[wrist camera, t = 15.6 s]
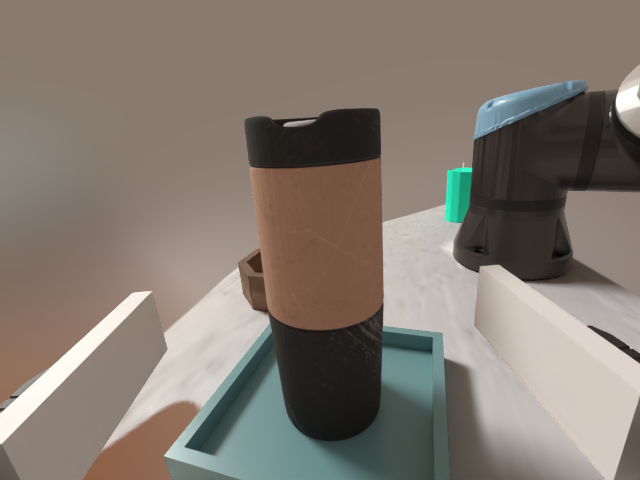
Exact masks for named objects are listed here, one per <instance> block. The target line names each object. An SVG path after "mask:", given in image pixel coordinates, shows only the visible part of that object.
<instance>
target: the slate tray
mask: <svg viewBox="0 0 640 480" xmlns="http://www.w3.org/2000/svg"><path fill="white" fill-rule="evenodd" d="M164 458H165V461H166V464H167V468H168V471H169V474H170V477H171V480H450V463H449V445H448V426H447V408H446V390H445V371H444V353H443V335H442V333H438V332H429V331H421V330H412V329H404V328H395V327H387V326H383V339H382V375H381V399H380V408H379V411H378V414H377V416H376V418H375V420H374V421H373V423H372V424H371V425H370V426H369V427H368V428H367V429H366V430H364V431H363V432H362V433H360V434H358V435H356V436H354V437H352V438H348V439H345V440H340V441H323V440H318V439H315V438H312V437H309V436H307V435H305V434H304V433H302V432H301V431H299V430H298V429H297V428H296V427H295V426H294V425H293V424H292V422H291V420H290V419H289V417H288V414H287V412H286V408H285V403H284V398H283V392H282V387H281V381H280V375H279V370H278V364H277V358H276V353H275V347H274V341H273V335H272V330H271V324H269V325H268V327H267V328H266V329H265V330H264V332H263V333H262V334H261V335H260V337H259V338H258V339H257V340H256V342H255V343H254V344H253V345H252V347H251V348H250V349H249V350H248V352H247V353H246V354H245V355H244V357H243V358H242V359H241V360H240V362H239V363H238V364H237V365H236V367H235V368H234V369H233V370H232V372H231V373H230V374H229V375H228V377H227V378H226V379H225V380H224V382H223V383H222V384H221V385H220V387H219V388H218V389H217V390H216V392H215V393H214V394H213V395H212V397H211V398H210V399H209V400H208V402H207V403H206V404H205V405H204V407H203V408H202V409H201V410H200V412H199V413H198V414H197V415H196V417H195V418H194V419H193V420H192V422H191V423H190V424H189V425H188V427H187V428H186V429H185V430H184V432H183V433H182V434H181V435H180V437H179V438H178V439H177V440H176V442H175V443H174V444H173V445H172V447H171V448H170V449H169V450H168V452H167V453H166V454H165V455H164Z"/></svg>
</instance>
